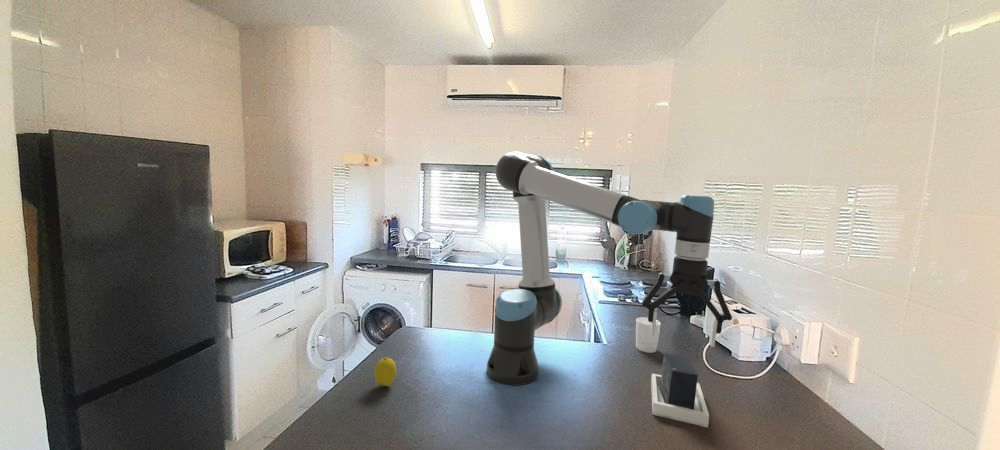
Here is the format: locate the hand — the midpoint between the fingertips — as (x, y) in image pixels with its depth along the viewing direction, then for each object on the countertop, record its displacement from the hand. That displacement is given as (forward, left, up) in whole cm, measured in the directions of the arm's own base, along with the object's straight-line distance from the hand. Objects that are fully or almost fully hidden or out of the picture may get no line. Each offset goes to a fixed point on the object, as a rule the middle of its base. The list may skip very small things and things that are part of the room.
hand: (681, 339), depth 94 cm
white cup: (-7, +33, -17) cm, 38 cm away
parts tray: (0, 0, -17) cm, 17 cm away
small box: (0, 0, -17) cm, 17 cm away
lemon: (-72, -25, -17) cm, 78 cm away
